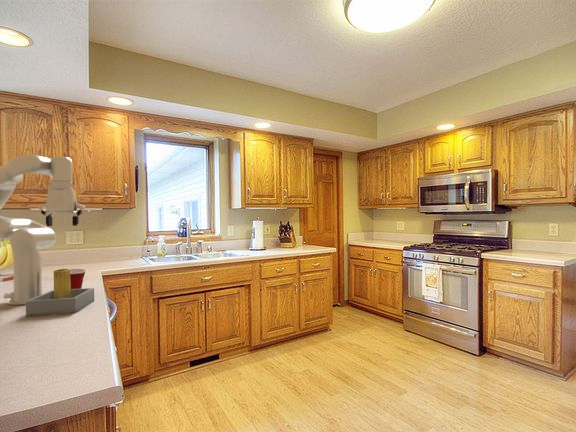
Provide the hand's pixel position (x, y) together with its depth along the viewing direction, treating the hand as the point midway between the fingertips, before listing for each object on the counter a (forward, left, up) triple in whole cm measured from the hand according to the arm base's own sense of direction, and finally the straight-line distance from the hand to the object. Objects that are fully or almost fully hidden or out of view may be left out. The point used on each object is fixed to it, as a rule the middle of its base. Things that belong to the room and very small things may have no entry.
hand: (62, 225), depth 135 cm
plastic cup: (0, +9, -32) cm, 34 cm away
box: (+5, -12, -32) cm, 35 cm away
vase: (+5, -12, -32) cm, 34 cm away
